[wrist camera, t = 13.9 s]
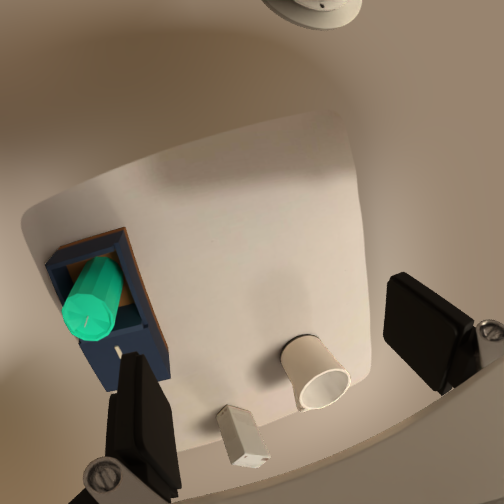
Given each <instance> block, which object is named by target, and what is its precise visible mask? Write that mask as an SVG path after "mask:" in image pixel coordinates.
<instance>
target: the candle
mask: <svg viewBox="0 0 504 504" xmlns="http://www.w3.org/2000/svg"><path fill="white" fill-rule="evenodd" d="M123 284H124V282H123V272H122V270H121V268H120V267H119V265H118V263H116V262H115V261H113V260H111V259H110V258H108V257H94V258H93V259H91V260H89V261H87V262H86V264H85V266H84V268H83V270H82V271H81V273H80V275H79V277H78V279H77V280H76V282H75V284H74V286H73V288H72V290H71V292H70V294H69V295H68V297H67V299H66V302H65V304H64V306H63V308H62V310H61V311H62V315H63V319H64V322H65V324H66V326H67V327H68V329H69V331H70V332H71V334H72V335H74V336H76V337H78V338H80V339H82V340H86V341H99V340H100V339H102V338H104V337H106V336H108V335H109V334H110V332H111V330H112V329H113V327H114V324H115V319H116V314H117V310H118V305H119V301H120V296H121V292H122V288H123Z"/></svg>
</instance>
